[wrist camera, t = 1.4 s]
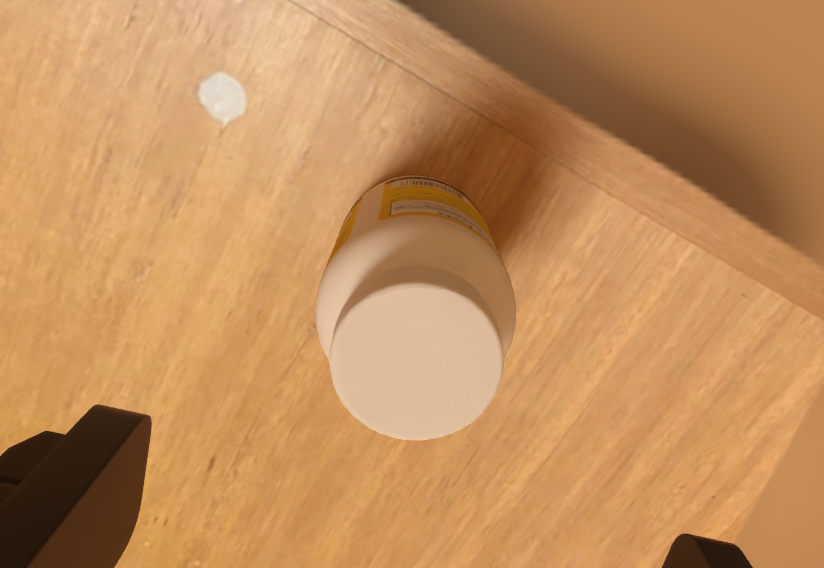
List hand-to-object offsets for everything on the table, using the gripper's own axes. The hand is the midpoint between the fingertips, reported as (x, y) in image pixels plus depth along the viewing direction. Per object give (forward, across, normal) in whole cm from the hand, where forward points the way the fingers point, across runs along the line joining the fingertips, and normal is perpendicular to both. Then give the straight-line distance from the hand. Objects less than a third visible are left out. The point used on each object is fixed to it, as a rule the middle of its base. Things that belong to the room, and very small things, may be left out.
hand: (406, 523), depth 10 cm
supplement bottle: (+15, 0, 0) cm, 15 cm away
